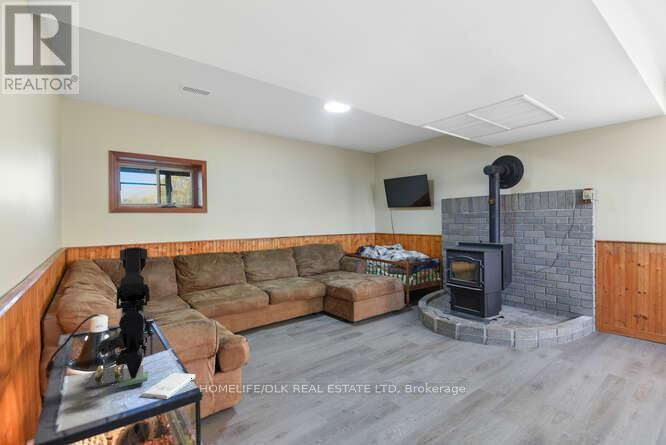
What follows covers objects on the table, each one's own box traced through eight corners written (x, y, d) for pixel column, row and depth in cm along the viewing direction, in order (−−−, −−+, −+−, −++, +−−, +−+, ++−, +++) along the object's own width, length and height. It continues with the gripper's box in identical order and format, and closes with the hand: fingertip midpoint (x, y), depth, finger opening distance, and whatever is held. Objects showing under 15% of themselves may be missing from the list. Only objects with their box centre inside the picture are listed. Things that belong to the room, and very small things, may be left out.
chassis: (96, 371, 105) (96, 361, 105) (128, 366, 109) (128, 356, 109) (85, 389, 93) (85, 378, 93) (122, 382, 97) (122, 371, 97)
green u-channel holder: (121, 379, 96) (121, 364, 96) (148, 374, 99) (147, 359, 99) (119, 387, 91) (118, 371, 91) (147, 381, 95) (147, 365, 95)
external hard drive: (195, 379, 99) (167, 401, 87) (172, 377, 101) (141, 398, 89) (195, 374, 99) (167, 395, 87) (172, 372, 101) (141, 392, 89)
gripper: (107, 319, 100) (108, 369, 100) (92, 338, 83) (93, 398, 83) (148, 314, 105) (148, 362, 105) (141, 331, 88) (142, 387, 88)
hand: (134, 376), depth 95 cm, fingers closed on green u-channel holder, 2 cm apart
